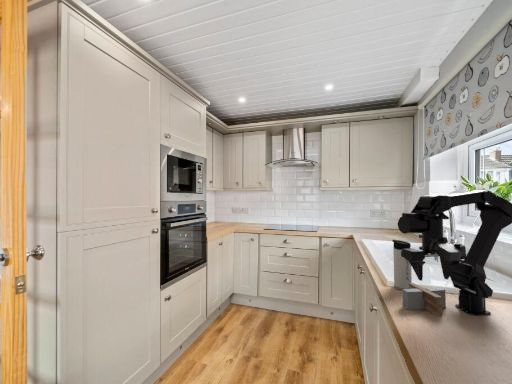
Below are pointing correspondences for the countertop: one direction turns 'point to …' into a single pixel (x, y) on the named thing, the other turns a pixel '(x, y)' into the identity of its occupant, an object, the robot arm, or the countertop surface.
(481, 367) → the countertop surface
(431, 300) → the cross plate
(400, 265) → the travel mug
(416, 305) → the base plate
